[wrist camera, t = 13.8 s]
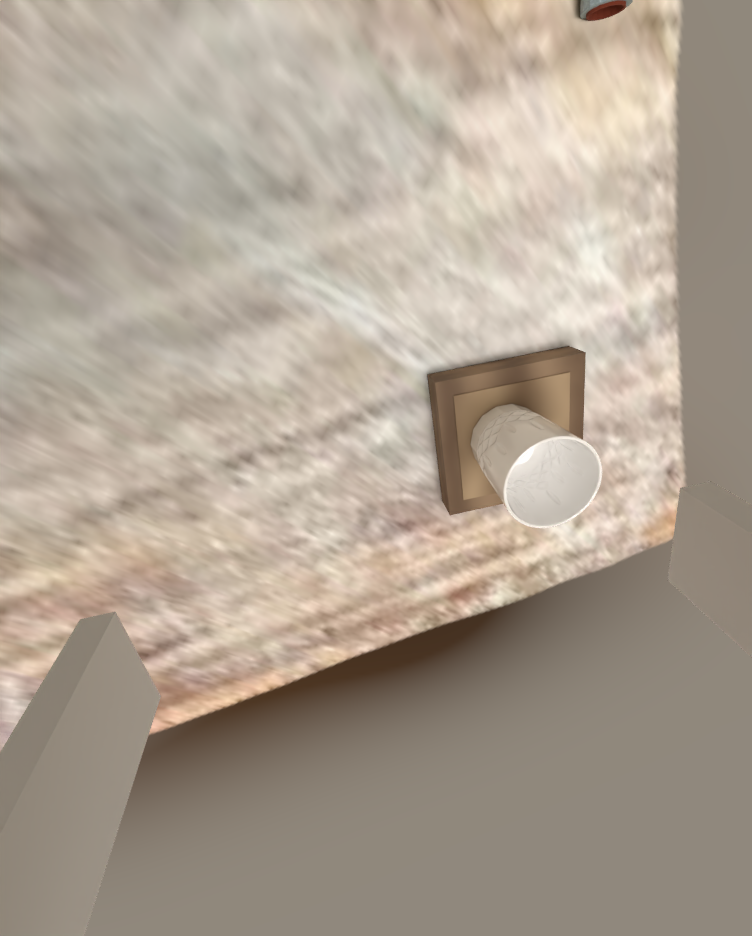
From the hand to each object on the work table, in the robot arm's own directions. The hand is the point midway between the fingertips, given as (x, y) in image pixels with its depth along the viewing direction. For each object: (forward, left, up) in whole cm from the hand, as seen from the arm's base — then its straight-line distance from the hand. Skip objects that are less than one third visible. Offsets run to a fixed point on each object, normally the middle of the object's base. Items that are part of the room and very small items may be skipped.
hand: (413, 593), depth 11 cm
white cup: (+14, -12, -32) cm, 37 cm away
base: (+15, -12, -35) cm, 40 cm away
